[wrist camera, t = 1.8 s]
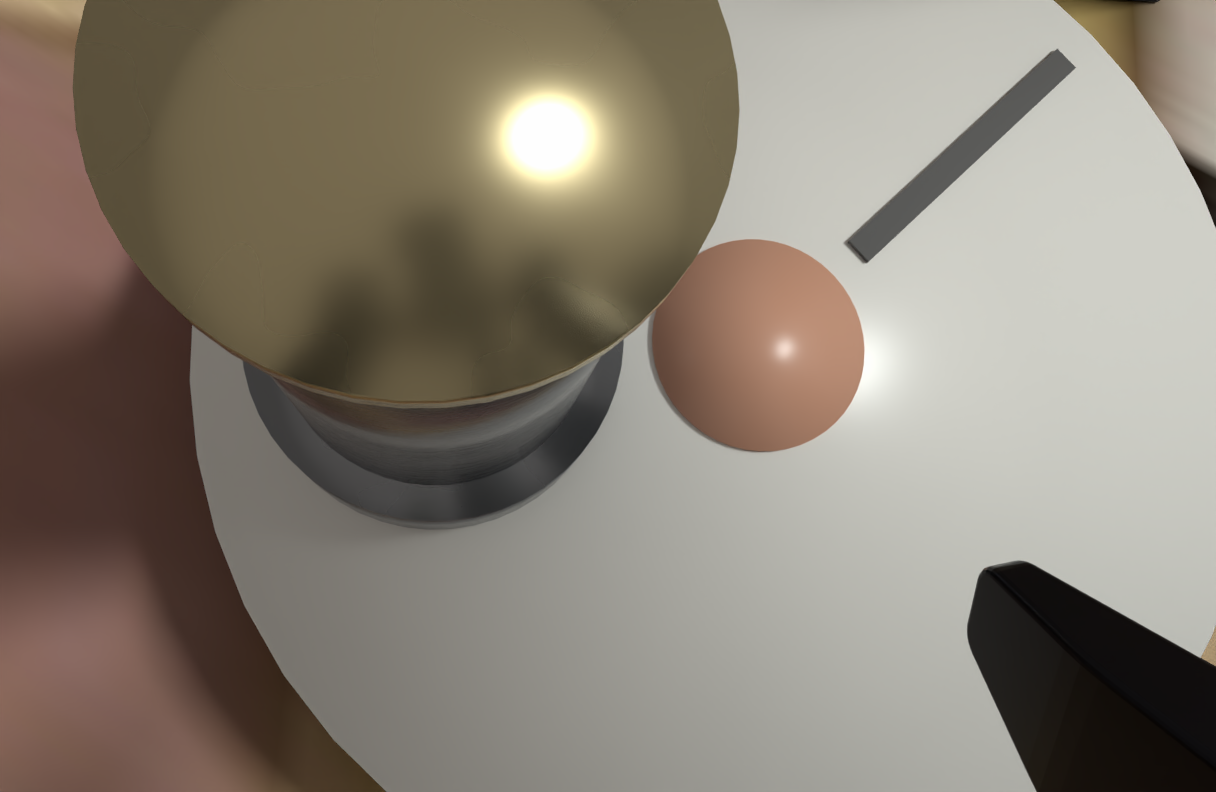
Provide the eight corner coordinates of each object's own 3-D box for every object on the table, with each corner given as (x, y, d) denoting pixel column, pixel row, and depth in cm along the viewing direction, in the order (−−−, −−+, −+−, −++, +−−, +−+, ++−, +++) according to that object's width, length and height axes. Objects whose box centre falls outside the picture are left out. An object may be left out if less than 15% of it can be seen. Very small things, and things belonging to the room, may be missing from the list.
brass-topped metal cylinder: (422, 604, 19) (382, 596, 9) (187, 342, 20) (-130, 25, 9) (675, 372, 21) (906, 126, 10) (453, 133, 21) (453, -346, 11)
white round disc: (741, 1187, 19) (759, 1221, 18) (-42, 304, 20) (-69, 287, 19) (1399, 398, 24) (1442, 388, 23) (748, -269, 25) (761, -308, 24)
